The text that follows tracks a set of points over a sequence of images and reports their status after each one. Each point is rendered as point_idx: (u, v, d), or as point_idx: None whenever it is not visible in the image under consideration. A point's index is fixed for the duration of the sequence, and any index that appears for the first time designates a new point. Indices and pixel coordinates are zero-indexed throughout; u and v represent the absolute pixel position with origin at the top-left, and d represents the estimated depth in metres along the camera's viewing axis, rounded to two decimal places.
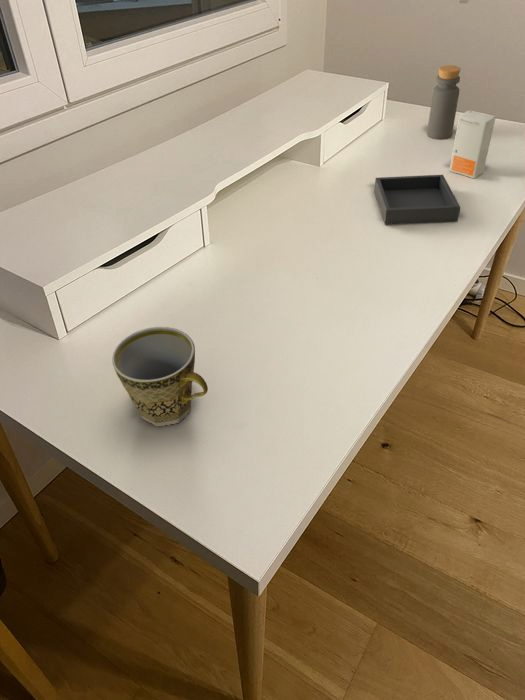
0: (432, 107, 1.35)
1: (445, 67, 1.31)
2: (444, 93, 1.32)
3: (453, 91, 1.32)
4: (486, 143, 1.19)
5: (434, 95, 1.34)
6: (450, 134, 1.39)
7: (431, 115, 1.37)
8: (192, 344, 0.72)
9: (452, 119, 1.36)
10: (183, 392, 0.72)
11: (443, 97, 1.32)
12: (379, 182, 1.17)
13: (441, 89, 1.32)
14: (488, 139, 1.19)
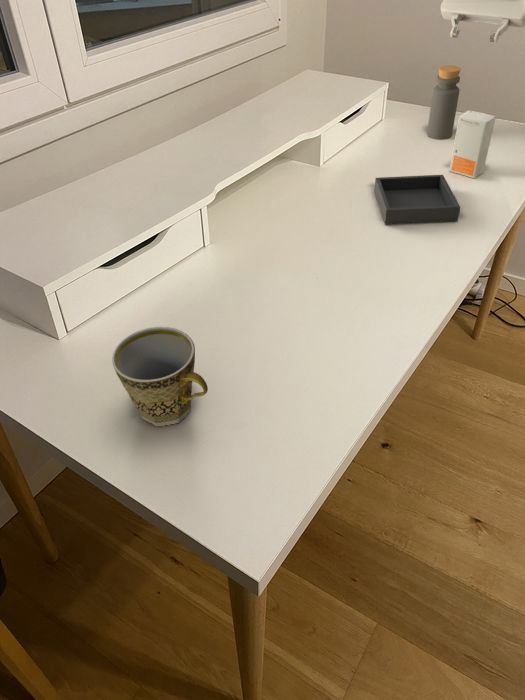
0: (432, 107, 1.35)
1: (445, 67, 1.31)
2: (444, 93, 1.32)
3: (453, 91, 1.32)
4: (486, 143, 1.19)
5: (434, 95, 1.34)
6: (450, 134, 1.39)
7: (431, 115, 1.37)
8: (192, 344, 0.72)
9: (452, 119, 1.36)
10: (183, 392, 0.72)
11: (443, 97, 1.32)
12: (379, 182, 1.17)
13: (441, 89, 1.32)
14: (488, 139, 1.19)
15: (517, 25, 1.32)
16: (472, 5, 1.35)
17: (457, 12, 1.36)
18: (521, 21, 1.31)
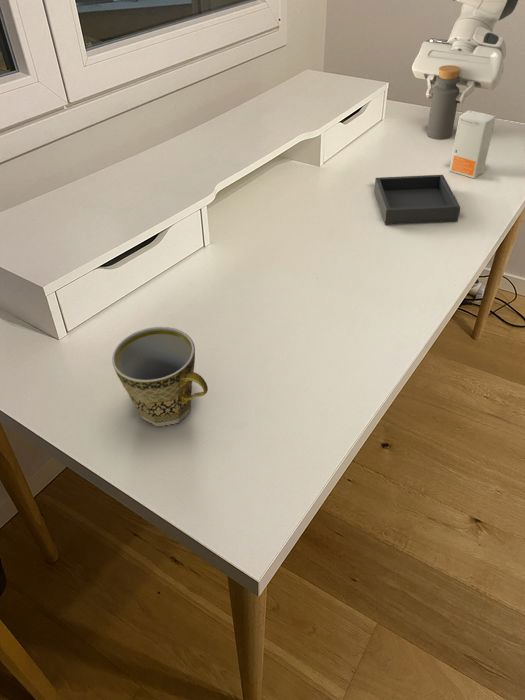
0: (432, 107, 1.35)
1: (445, 67, 1.31)
2: (444, 93, 1.32)
3: (453, 91, 1.32)
4: (486, 143, 1.19)
5: (434, 95, 1.34)
6: (450, 134, 1.39)
7: (431, 115, 1.37)
8: (192, 344, 0.72)
9: (452, 119, 1.36)
10: (183, 392, 0.72)
11: (443, 97, 1.32)
12: (379, 182, 1.17)
13: (441, 89, 1.32)
14: (488, 139, 1.19)
15: (488, 88, 1.31)
16: None
17: (428, 73, 1.35)
18: (491, 85, 1.30)
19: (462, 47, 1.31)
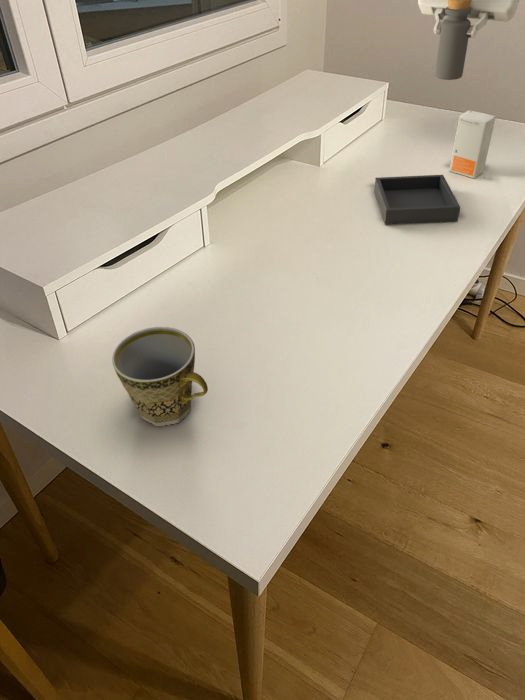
0: (440, 43, 1.23)
1: None
2: (453, 25, 1.19)
3: (464, 23, 1.19)
4: (486, 143, 1.19)
5: (443, 29, 1.21)
6: (460, 75, 1.26)
7: (439, 53, 1.24)
8: (192, 344, 0.72)
9: (463, 56, 1.24)
10: (183, 392, 0.72)
11: (453, 30, 1.20)
12: (379, 182, 1.17)
13: (450, 22, 1.20)
14: (488, 139, 1.19)
15: (502, 19, 1.19)
16: None
17: (436, 6, 1.23)
18: (506, 15, 1.17)
19: None
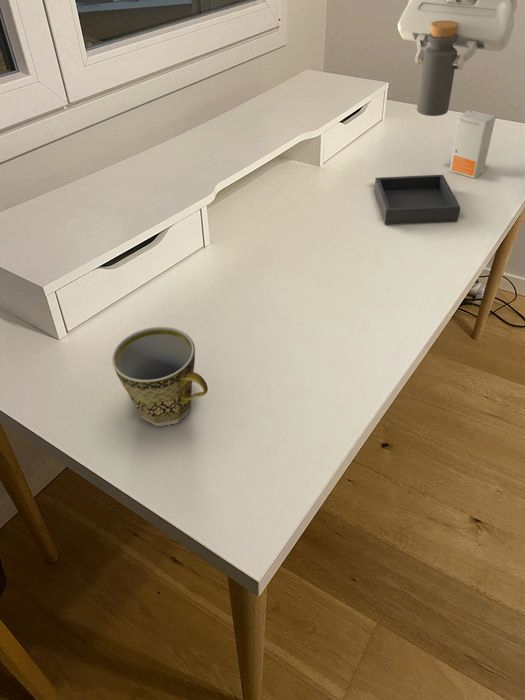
0: (423, 75, 1.07)
1: (439, 22, 1.03)
2: (437, 55, 1.03)
3: (449, 53, 1.03)
4: (486, 143, 1.19)
5: (425, 59, 1.05)
6: (445, 110, 1.10)
7: (421, 85, 1.08)
8: (192, 344, 0.72)
9: (448, 90, 1.07)
10: (183, 392, 0.72)
11: (437, 61, 1.04)
12: (379, 182, 1.17)
13: (433, 51, 1.04)
14: (488, 139, 1.19)
15: (494, 49, 1.03)
16: None
17: (418, 31, 1.07)
18: (498, 44, 1.01)
19: None
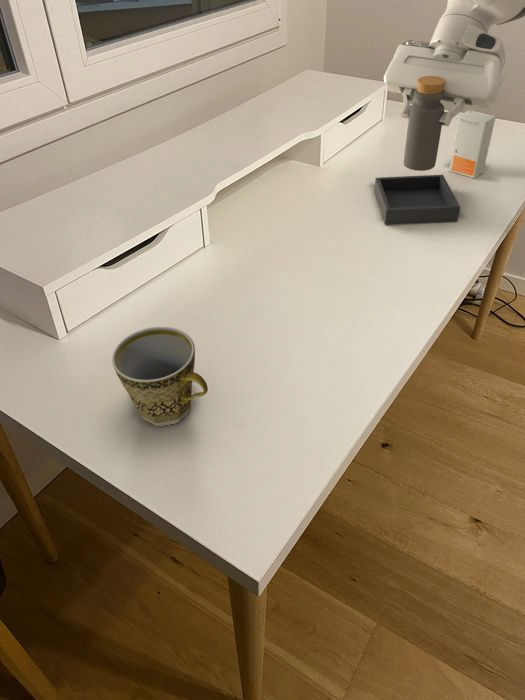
0: (409, 130, 1.04)
1: (425, 78, 1.00)
2: (423, 112, 1.00)
3: (436, 109, 1.00)
4: (486, 143, 1.19)
5: (411, 115, 1.02)
6: (433, 164, 1.07)
7: (408, 140, 1.05)
8: (192, 344, 0.72)
9: (435, 145, 1.05)
10: (183, 392, 0.72)
11: (423, 117, 1.01)
12: (379, 182, 1.17)
13: (420, 108, 1.01)
14: (488, 139, 1.19)
15: (481, 106, 1.00)
16: None
17: (404, 85, 1.04)
18: (486, 102, 0.98)
19: (448, 52, 1.00)
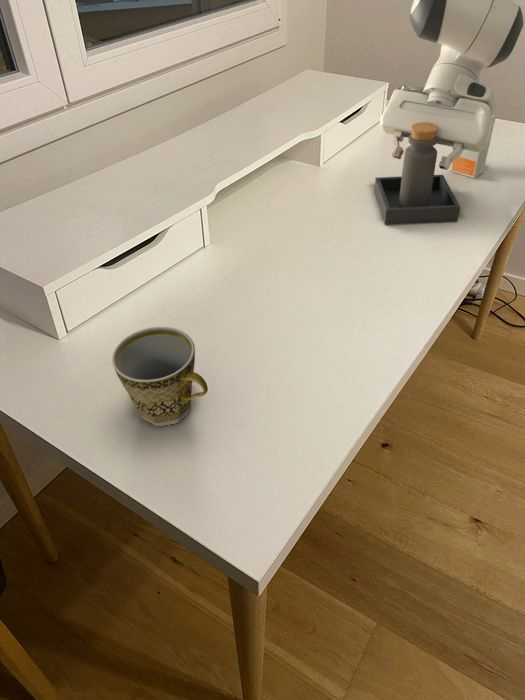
0: (404, 172, 1.10)
1: (419, 125, 1.05)
2: (417, 157, 1.06)
3: (429, 154, 1.06)
4: None
5: (406, 158, 1.08)
6: (427, 204, 1.13)
7: (403, 181, 1.11)
8: (192, 344, 0.72)
9: (429, 187, 1.10)
10: (183, 392, 0.72)
11: (417, 161, 1.06)
12: (379, 182, 1.17)
13: (414, 152, 1.06)
14: None
15: (473, 150, 1.05)
16: (418, 122, 1.08)
17: (400, 129, 1.09)
18: (477, 147, 1.04)
19: (441, 99, 1.05)
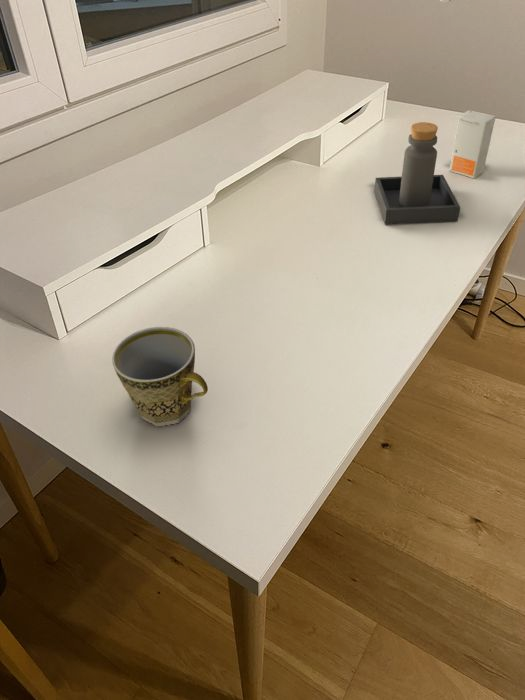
0: (404, 172, 1.10)
1: (419, 125, 1.05)
2: (417, 157, 1.06)
3: (429, 154, 1.06)
4: (486, 143, 1.19)
5: (406, 158, 1.08)
6: (426, 204, 1.13)
7: (403, 181, 1.11)
8: (192, 344, 0.72)
9: (429, 187, 1.10)
10: (183, 392, 0.72)
11: (417, 161, 1.06)
12: (379, 182, 1.17)
13: (414, 152, 1.06)
14: (488, 139, 1.19)
15: None
16: None
17: None
18: None
19: None
